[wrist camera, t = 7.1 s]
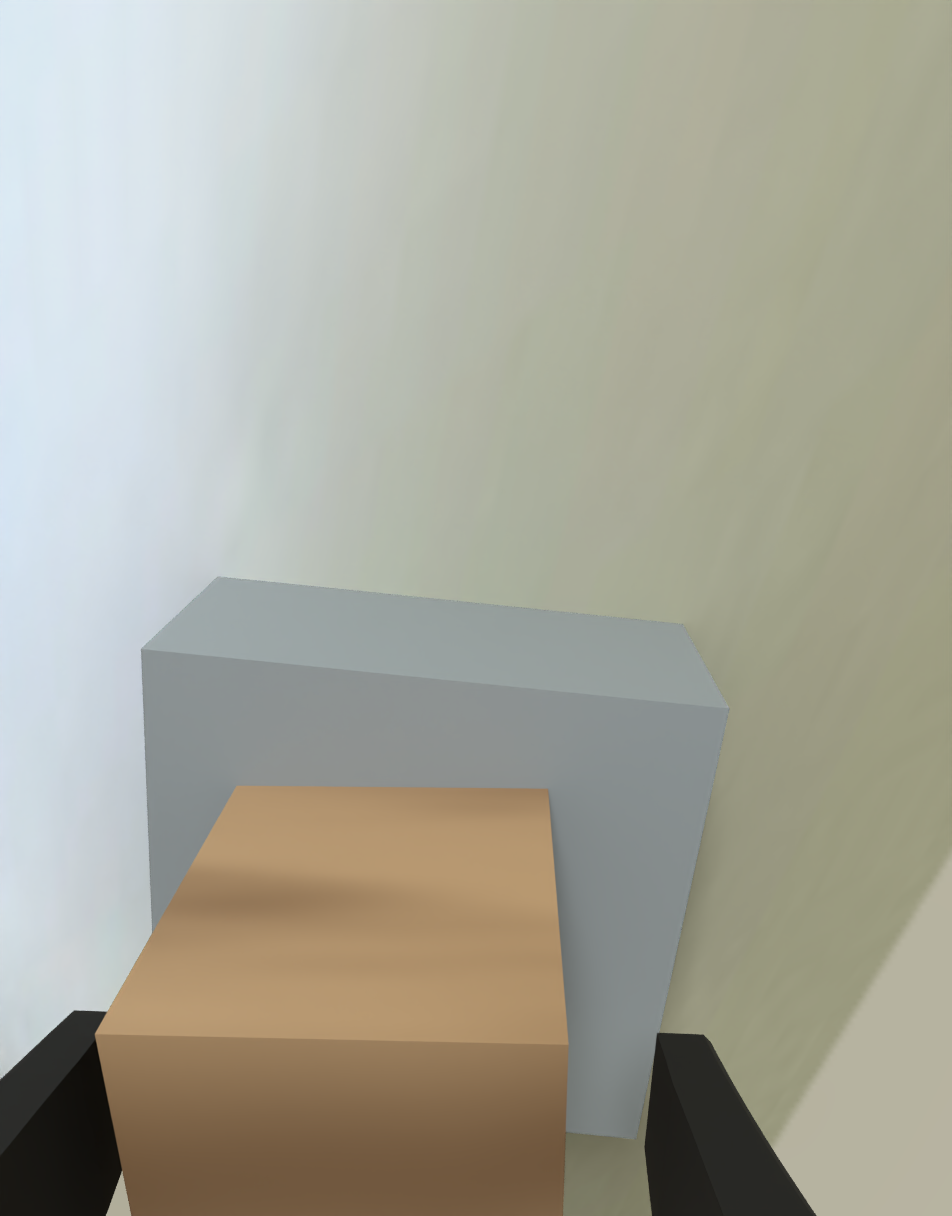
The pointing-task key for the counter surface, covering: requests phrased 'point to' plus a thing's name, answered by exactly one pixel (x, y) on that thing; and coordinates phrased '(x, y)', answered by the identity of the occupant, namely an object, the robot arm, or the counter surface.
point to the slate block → (462, 764)
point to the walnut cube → (350, 1012)
